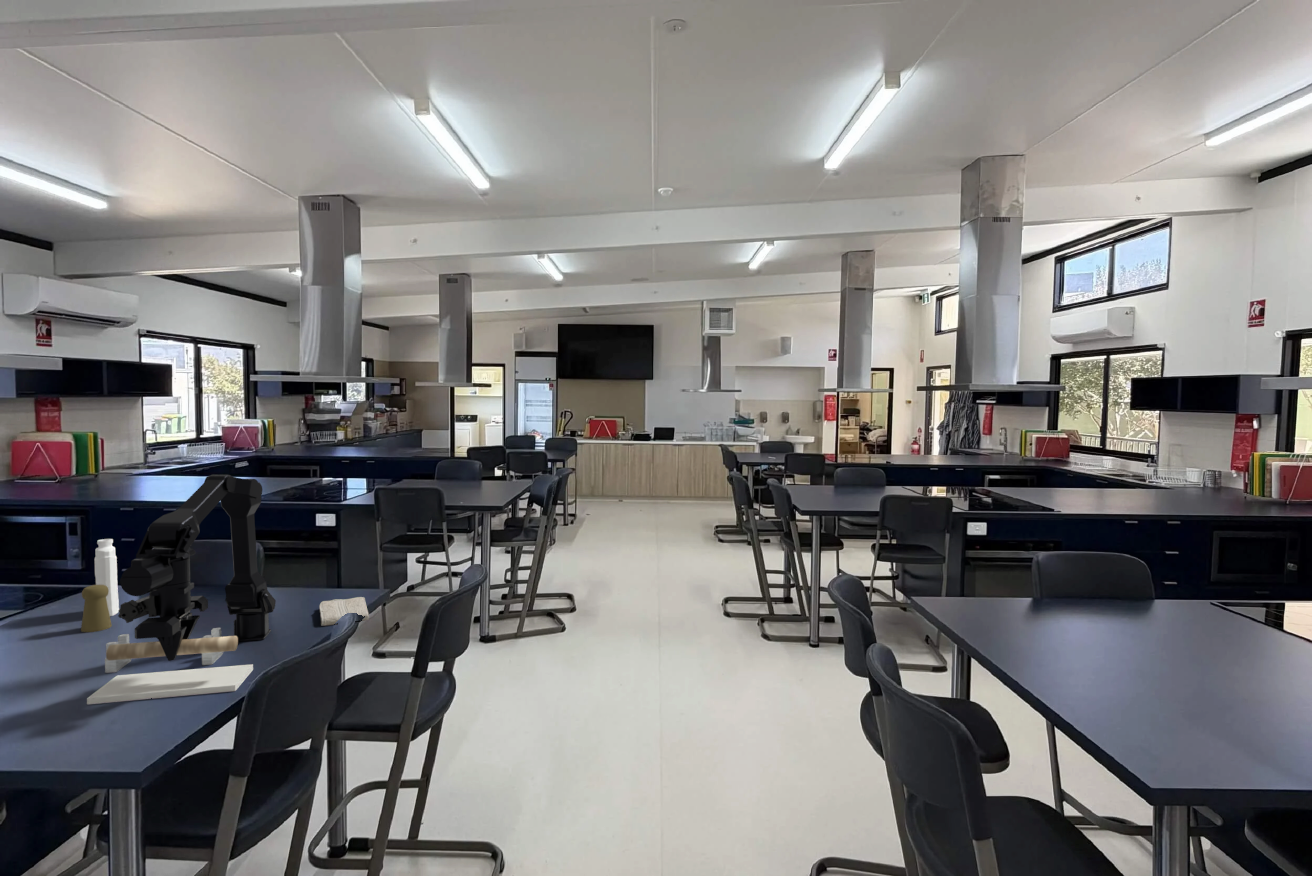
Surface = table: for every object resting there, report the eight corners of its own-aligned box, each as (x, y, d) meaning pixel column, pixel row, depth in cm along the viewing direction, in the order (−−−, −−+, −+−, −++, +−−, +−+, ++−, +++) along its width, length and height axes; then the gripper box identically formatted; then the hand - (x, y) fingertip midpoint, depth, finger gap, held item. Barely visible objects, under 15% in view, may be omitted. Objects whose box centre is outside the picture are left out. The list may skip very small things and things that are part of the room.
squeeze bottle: (96, 618, 175) (121, 614, 179) (94, 544, 174) (118, 541, 178) (93, 610, 182) (117, 606, 186) (91, 538, 181) (115, 536, 185)
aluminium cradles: (223, 653, 152) (222, 627, 152) (212, 664, 146) (211, 636, 146) (120, 661, 147) (119, 634, 146) (105, 672, 141) (104, 644, 140)
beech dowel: (238, 647, 139) (237, 633, 139) (233, 652, 136) (232, 638, 136) (114, 657, 133) (114, 642, 133) (106, 662, 130) (106, 647, 130)
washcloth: (364, 604, 192) (364, 593, 192) (370, 622, 177) (370, 610, 177) (318, 609, 187) (318, 598, 186) (320, 628, 171) (320, 617, 171)
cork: (93, 633, 164) (92, 589, 164) (74, 631, 166) (72, 587, 165) (117, 625, 170) (116, 583, 170) (98, 623, 172) (97, 581, 171)
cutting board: (253, 669, 143) (252, 664, 143) (235, 690, 133) (235, 684, 133) (117, 681, 137) (117, 675, 137) (87, 704, 126) (86, 698, 126)
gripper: (148, 572, 140) (150, 644, 141) (100, 597, 123) (103, 679, 123) (208, 569, 143) (209, 640, 144) (170, 593, 125) (172, 674, 126)
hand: (174, 657), depth 134 cm, fingers closed on beech dowel, 3 cm apart
